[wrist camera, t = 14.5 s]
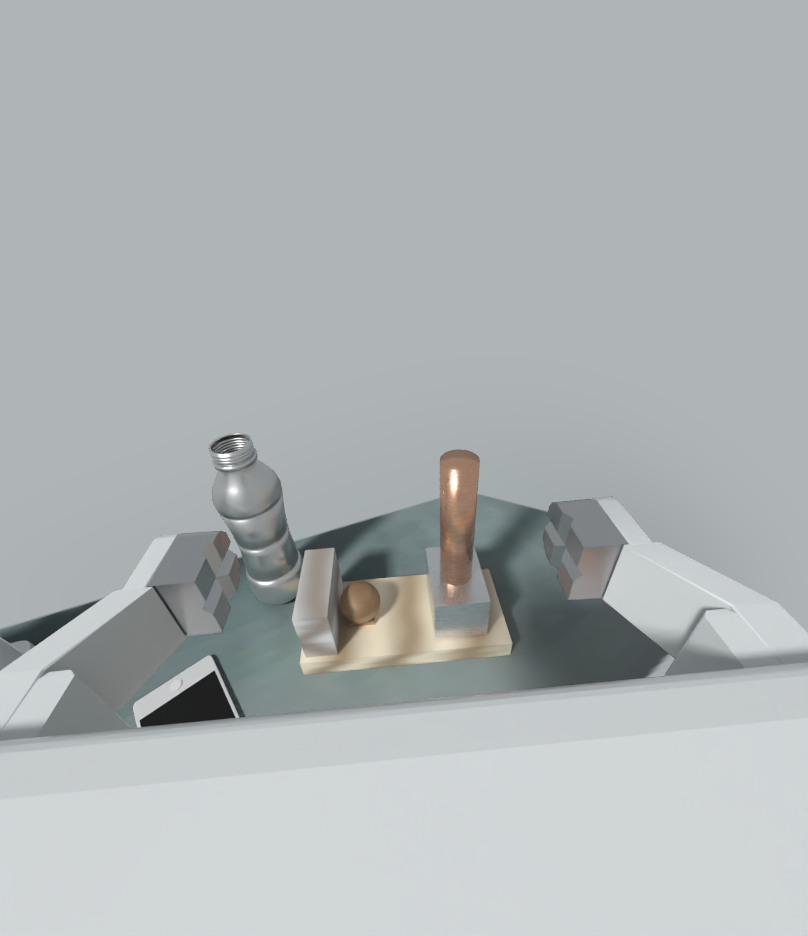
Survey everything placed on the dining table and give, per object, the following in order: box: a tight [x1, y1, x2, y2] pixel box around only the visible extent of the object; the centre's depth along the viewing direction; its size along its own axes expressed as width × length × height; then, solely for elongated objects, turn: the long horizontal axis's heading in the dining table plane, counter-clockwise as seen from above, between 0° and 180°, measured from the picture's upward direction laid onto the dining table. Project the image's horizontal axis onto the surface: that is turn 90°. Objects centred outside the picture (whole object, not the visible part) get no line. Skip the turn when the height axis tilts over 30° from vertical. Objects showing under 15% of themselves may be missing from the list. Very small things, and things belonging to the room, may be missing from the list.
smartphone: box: [133, 656, 240, 728], centre depth 32 cm, size 7×16×1 cm, turn 40°
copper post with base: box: [426, 450, 491, 639], centre depth 35 cm, size 5×7×18 cm
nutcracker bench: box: [292, 548, 512, 675], centre depth 39 cm, size 20×9×8 cm, turn 94°
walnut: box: [340, 581, 380, 627], centre depth 39 cm, size 4×4×4 cm
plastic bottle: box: [209, 433, 303, 605], centre depth 40 cm, size 6×7×20 cm
